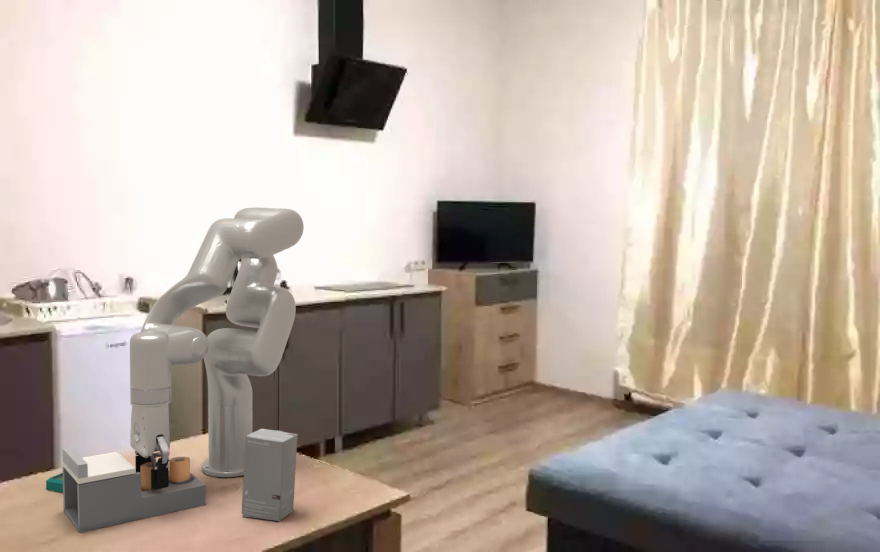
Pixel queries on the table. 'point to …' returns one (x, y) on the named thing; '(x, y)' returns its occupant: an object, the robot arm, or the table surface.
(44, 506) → the table surface
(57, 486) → the digital multimeter
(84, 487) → the housing
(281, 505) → the skincare box
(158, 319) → the robot arm
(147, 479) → the peg
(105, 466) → the lid
